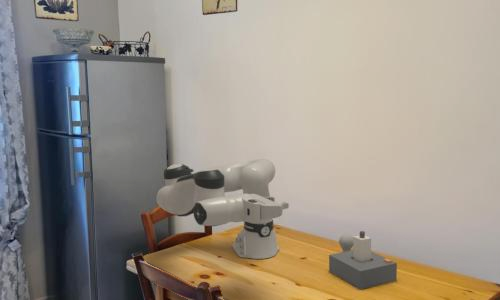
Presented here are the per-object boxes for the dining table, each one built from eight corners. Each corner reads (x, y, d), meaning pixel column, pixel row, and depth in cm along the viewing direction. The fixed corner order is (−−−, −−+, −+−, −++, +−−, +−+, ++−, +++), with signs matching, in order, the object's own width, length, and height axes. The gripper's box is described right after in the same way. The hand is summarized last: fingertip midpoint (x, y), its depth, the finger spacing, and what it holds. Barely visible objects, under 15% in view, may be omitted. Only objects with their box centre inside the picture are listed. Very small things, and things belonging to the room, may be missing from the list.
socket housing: (329, 271, 174) (329, 253, 173) (363, 264, 180) (363, 246, 179) (360, 289, 157) (360, 269, 156) (396, 280, 164) (396, 261, 163)
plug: (353, 268, 170) (353, 231, 168) (362, 266, 171) (363, 229, 170) (360, 272, 166) (361, 234, 164) (370, 270, 167) (371, 232, 166)
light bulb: (354, 261, 183) (354, 236, 182) (338, 260, 184) (339, 236, 183) (353, 256, 189) (354, 232, 188) (339, 255, 190) (339, 231, 189)
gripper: (230, 209, 162) (265, 204, 168) (257, 224, 143) (296, 218, 150) (230, 192, 161) (265, 187, 167) (257, 204, 143) (296, 199, 149)
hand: (280, 202), depth 158 cm, fingers open, 8 cm apart
